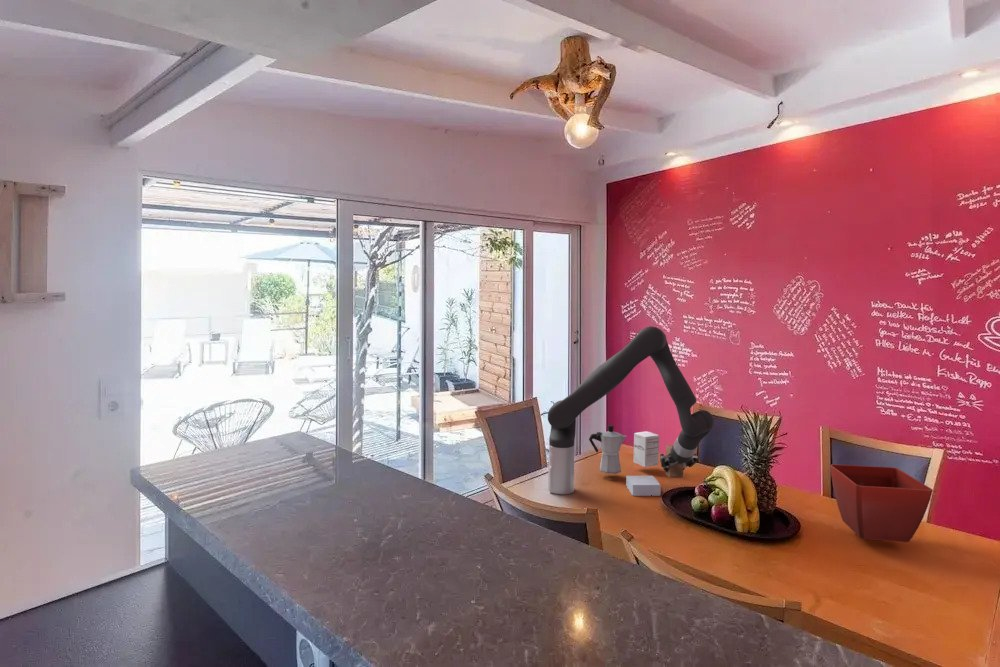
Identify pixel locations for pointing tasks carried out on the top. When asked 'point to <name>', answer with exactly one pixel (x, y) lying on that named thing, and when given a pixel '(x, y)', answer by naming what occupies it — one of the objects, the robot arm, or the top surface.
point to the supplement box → (646, 449)
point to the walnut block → (674, 466)
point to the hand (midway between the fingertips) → (672, 469)
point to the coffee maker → (609, 449)
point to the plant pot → (880, 501)
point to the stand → (643, 485)
